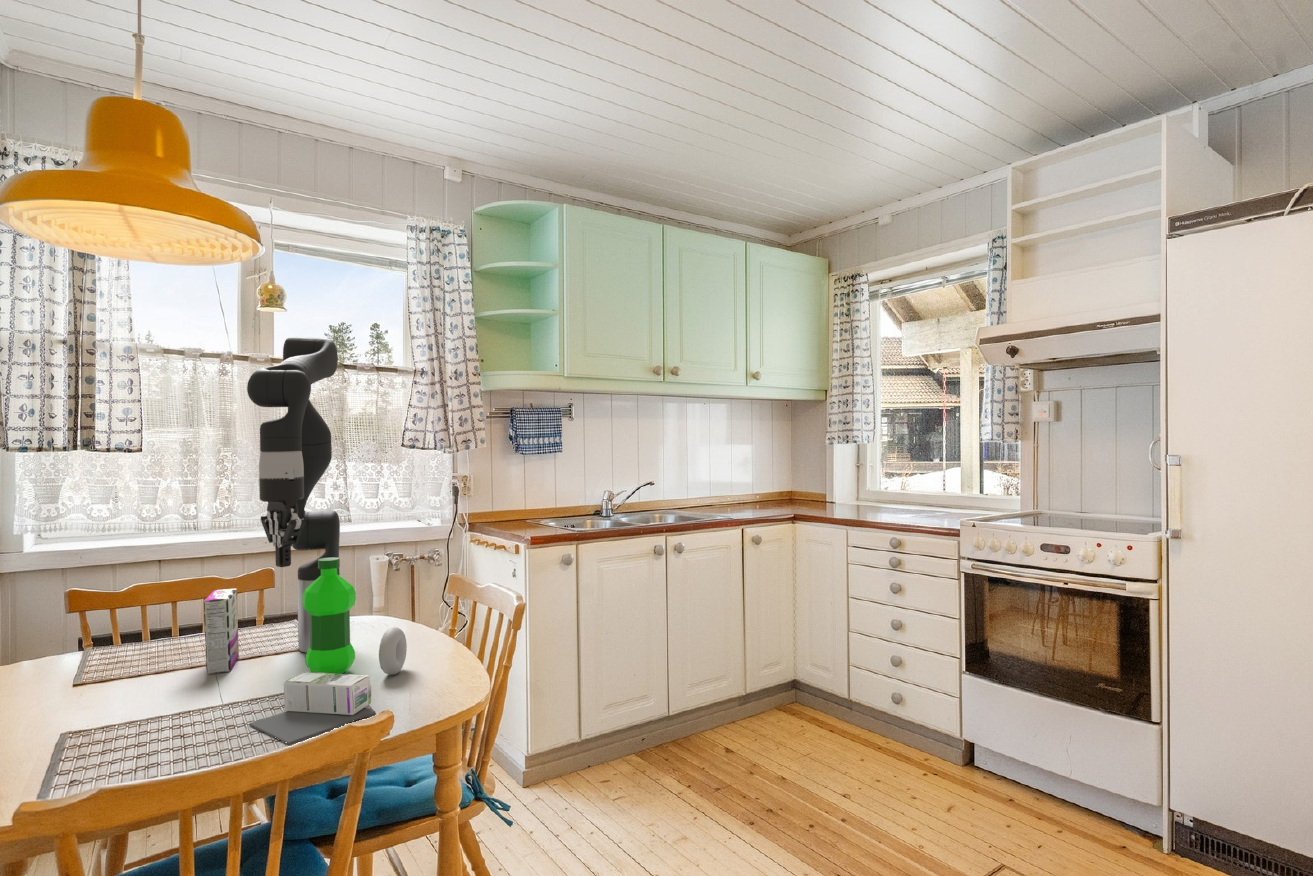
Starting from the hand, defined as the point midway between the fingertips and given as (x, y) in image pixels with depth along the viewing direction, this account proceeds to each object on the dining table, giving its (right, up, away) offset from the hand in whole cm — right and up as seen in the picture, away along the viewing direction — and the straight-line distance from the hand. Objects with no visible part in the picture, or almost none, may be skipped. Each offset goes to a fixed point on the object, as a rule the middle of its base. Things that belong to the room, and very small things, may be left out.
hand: (283, 566), depth 137 cm
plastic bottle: (+1, -27, +19) cm, 33 cm away
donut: (+14, -27, +19) cm, 36 cm away
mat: (+8, -27, -6) cm, 29 cm away
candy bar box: (-27, -27, +25) cm, 46 cm away
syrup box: (+2, -24, 0) cm, 24 cm away
